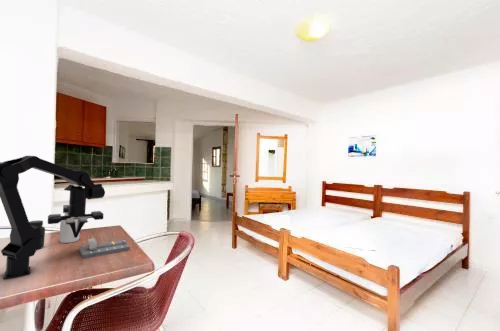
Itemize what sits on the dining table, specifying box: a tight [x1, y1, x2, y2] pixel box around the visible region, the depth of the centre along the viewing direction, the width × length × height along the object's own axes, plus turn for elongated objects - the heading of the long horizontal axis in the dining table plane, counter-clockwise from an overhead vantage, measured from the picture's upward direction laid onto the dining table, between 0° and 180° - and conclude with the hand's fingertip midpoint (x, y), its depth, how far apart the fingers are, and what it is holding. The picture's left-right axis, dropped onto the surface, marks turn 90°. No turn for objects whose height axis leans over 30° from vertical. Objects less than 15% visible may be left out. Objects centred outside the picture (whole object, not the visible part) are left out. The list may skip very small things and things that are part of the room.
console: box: [78, 239, 131, 259], centre depth 107 cm, size 12×18×3 cm, turn 132°
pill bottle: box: [58, 213, 81, 244], centre depth 117 cm, size 8×8×15 cm
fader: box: [87, 237, 98, 250], centre depth 104 cm, size 5×2×4 cm, turn 42°
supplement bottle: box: [29, 220, 46, 251], centre depth 105 cm, size 7×7×12 cm
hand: (75, 237), depth 100 cm, fingers closed
